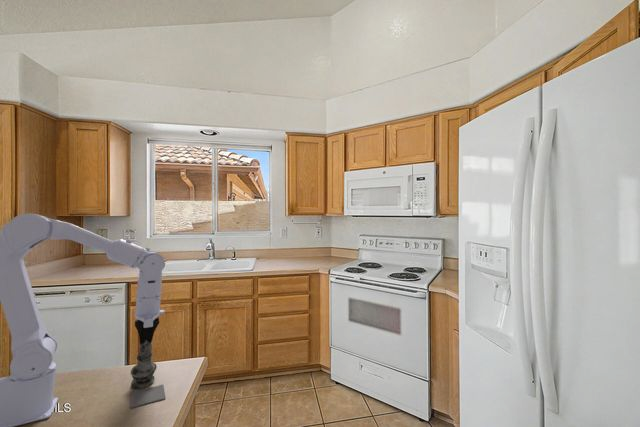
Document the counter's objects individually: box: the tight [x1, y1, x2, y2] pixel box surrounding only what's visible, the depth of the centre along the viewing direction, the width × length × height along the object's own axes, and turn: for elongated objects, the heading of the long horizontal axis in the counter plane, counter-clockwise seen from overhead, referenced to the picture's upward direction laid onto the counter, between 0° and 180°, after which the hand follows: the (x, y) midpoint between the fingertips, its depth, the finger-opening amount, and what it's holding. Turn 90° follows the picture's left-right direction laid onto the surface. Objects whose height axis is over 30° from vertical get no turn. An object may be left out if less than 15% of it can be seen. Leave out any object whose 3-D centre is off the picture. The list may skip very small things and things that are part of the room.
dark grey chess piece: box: [130, 340, 158, 390], centre depth 73 cm, size 6×6×12 cm
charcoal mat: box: [130, 384, 166, 409], centre depth 68 cm, size 7×7×1 cm
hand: (145, 347), depth 74 cm, fingers closed
